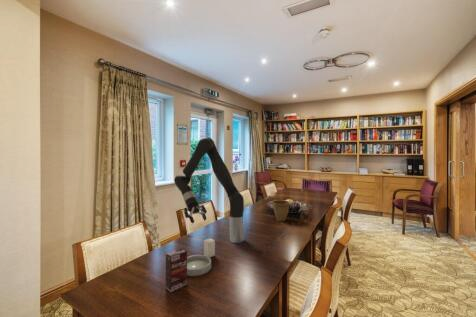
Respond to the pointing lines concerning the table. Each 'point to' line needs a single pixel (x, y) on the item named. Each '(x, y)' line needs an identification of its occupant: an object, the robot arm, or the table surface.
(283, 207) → the plant pot
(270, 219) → the table surface
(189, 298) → the table surface
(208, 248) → the cream rectangular block
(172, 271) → the supplement box
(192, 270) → the round tray
